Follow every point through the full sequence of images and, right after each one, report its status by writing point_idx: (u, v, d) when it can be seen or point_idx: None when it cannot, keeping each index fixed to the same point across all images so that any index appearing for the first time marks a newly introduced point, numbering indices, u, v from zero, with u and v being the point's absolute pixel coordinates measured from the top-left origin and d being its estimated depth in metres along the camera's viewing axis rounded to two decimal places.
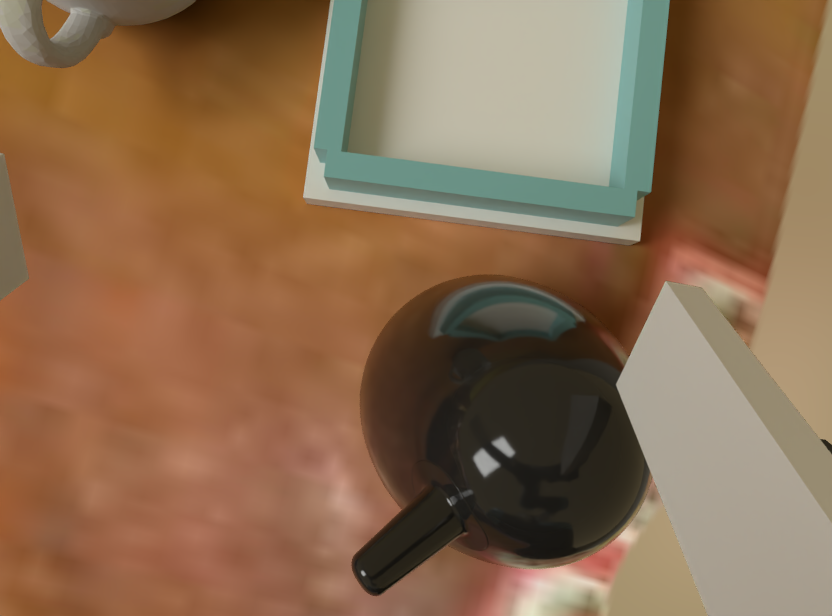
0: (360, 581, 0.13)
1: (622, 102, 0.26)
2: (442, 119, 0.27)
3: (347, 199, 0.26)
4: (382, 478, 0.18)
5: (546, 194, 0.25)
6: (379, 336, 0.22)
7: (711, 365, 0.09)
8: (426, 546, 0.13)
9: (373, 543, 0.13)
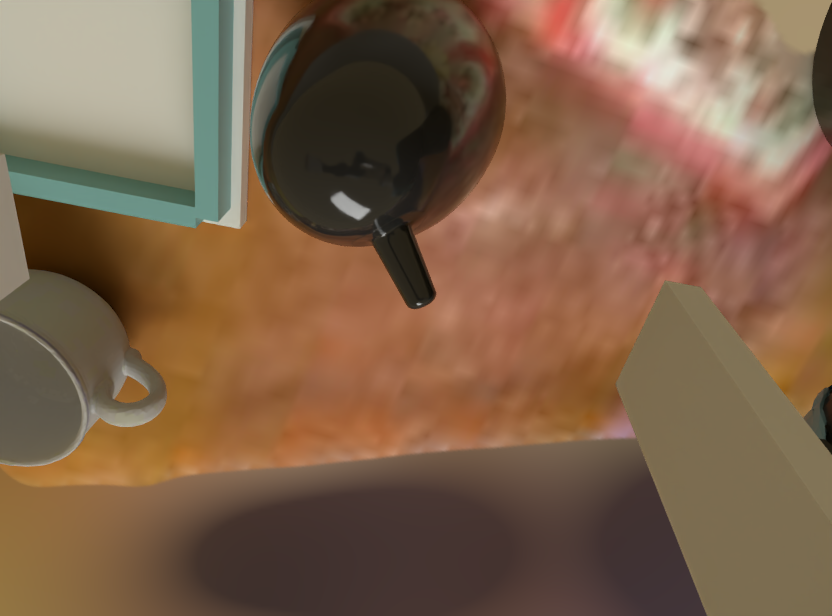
0: (420, 307, 0.18)
1: None
2: (153, 105, 0.29)
3: (237, 194, 0.31)
4: None
5: (207, 18, 0.25)
6: None
7: (711, 364, 0.09)
8: (402, 260, 0.18)
9: (400, 293, 0.19)
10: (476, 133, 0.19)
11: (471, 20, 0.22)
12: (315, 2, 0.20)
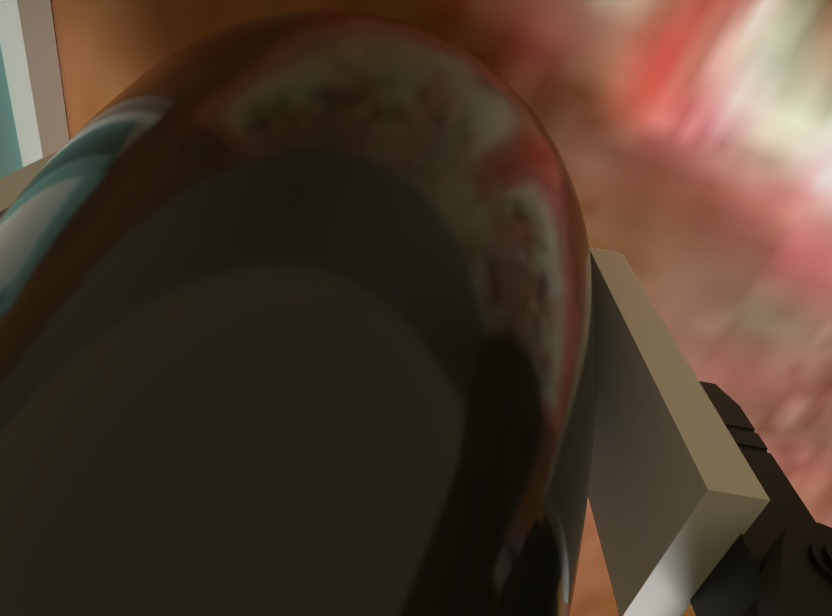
0: None
1: None
2: None
3: None
4: None
5: None
6: None
7: (614, 317, 0.10)
8: None
9: None
10: (583, 497, 0.06)
11: (496, 107, 0.08)
12: (46, 167, 0.07)
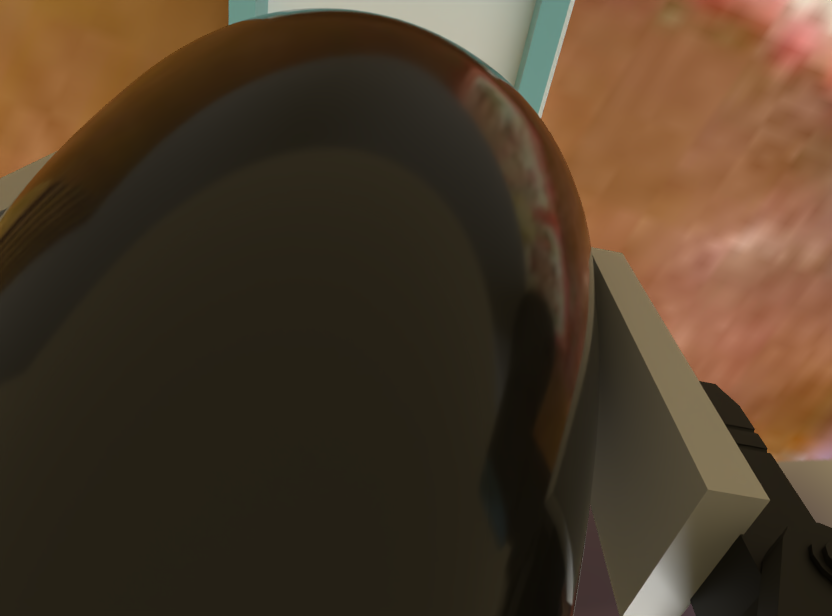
0: None
1: None
2: None
3: None
4: None
5: (540, 66, 0.26)
6: None
7: (614, 317, 0.10)
8: None
9: None
10: (586, 499, 0.06)
11: (498, 106, 0.08)
12: (46, 166, 0.07)
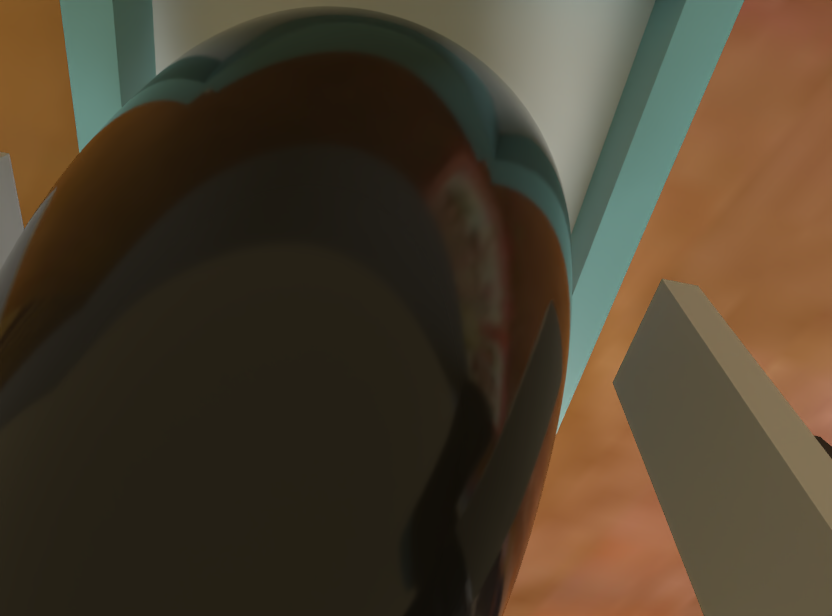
0: None
1: None
2: None
3: None
4: None
5: (657, 153, 0.14)
6: None
7: (706, 362, 0.09)
8: None
9: None
10: (547, 428, 0.07)
11: (482, 95, 0.09)
12: (91, 144, 0.08)
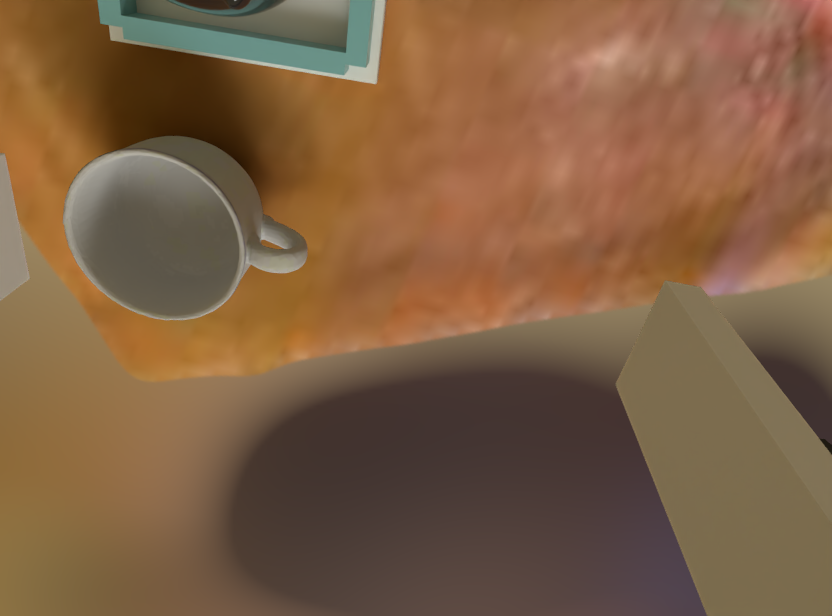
0: (238, 2, 0.20)
1: None
2: None
3: (377, 47, 0.34)
4: None
5: None
6: None
7: (711, 364, 0.09)
8: None
9: None
10: None
11: None
12: None
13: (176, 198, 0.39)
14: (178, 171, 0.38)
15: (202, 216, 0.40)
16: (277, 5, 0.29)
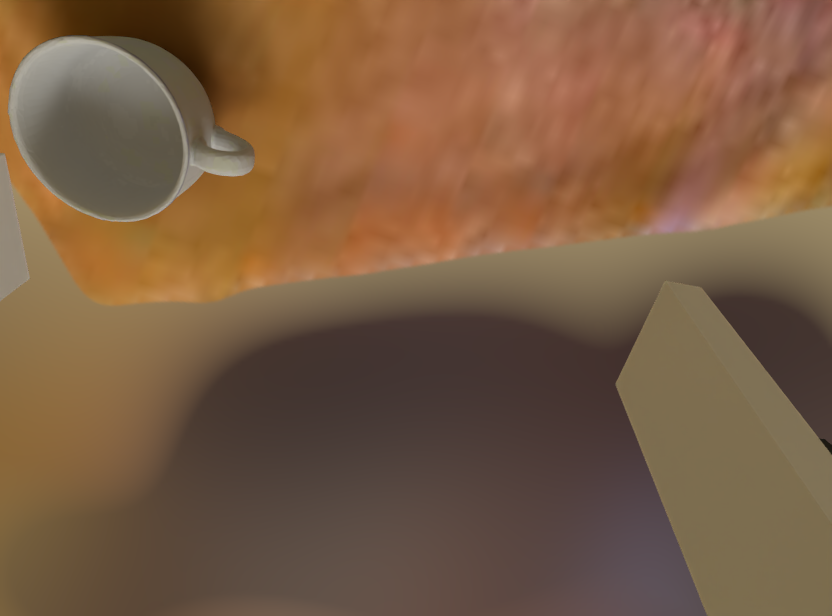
0: None
1: None
2: None
3: None
4: None
5: None
6: None
7: (710, 365, 0.09)
8: None
9: None
10: None
11: None
12: None
13: (130, 107, 0.39)
14: (132, 79, 0.39)
15: (156, 127, 0.40)
16: None
